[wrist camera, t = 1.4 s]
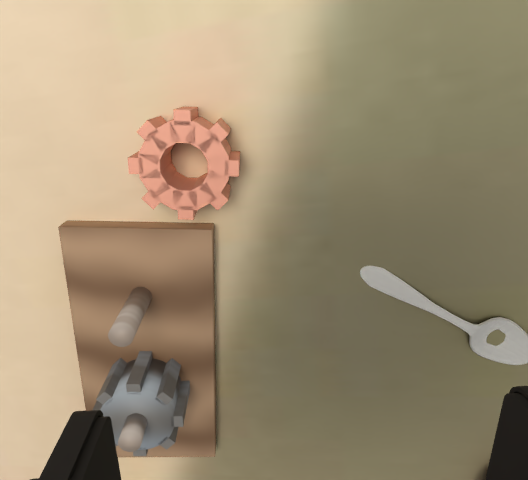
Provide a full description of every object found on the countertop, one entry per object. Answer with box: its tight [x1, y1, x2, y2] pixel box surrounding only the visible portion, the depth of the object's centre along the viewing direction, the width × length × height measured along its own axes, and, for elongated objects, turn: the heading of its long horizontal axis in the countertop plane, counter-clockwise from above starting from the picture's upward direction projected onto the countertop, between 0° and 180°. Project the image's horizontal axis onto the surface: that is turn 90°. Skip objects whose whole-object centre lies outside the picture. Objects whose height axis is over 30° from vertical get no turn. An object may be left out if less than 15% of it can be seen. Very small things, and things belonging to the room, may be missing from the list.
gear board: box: [58, 221, 216, 457], centre depth 31 cm, size 22×11×8 cm, turn 178°
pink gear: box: [128, 107, 240, 220], centre depth 28 cm, size 7×7×4 cm
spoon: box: [360, 266, 528, 365], centre depth 34 cm, size 4×21×2 cm, turn 62°
